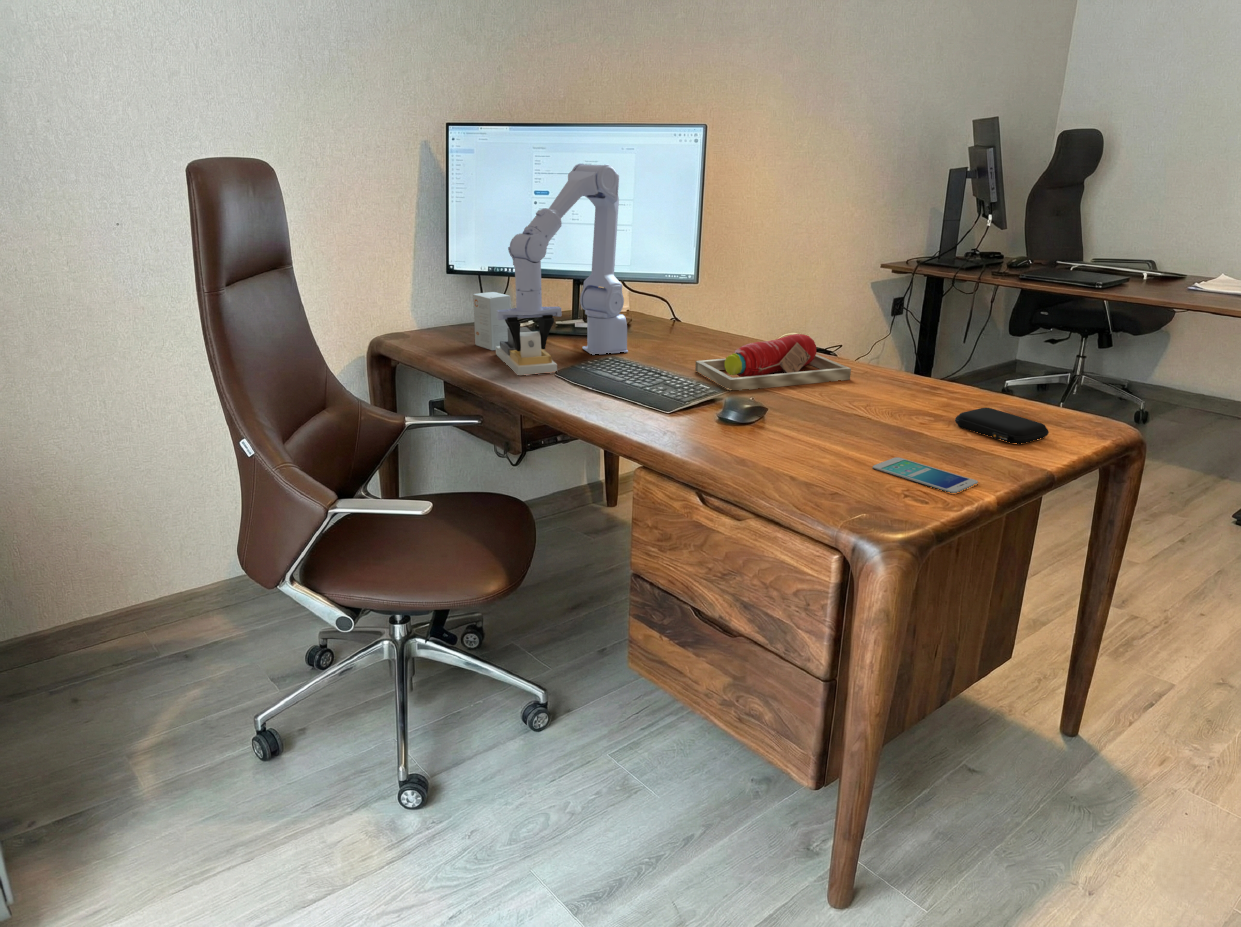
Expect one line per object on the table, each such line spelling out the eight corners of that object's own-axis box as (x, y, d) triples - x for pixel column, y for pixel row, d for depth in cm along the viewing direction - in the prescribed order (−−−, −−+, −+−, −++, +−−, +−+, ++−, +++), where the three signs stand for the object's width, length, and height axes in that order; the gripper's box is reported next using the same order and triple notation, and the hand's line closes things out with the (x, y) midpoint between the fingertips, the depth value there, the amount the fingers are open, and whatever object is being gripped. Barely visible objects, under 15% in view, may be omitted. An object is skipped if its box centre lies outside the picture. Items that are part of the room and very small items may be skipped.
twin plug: (526, 347, 220) (525, 326, 218) (533, 353, 214) (532, 332, 212) (508, 348, 218) (507, 328, 217) (514, 354, 213) (514, 333, 211)
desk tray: (808, 361, 216) (809, 351, 215) (850, 379, 201) (851, 368, 200) (695, 371, 206) (695, 361, 206) (729, 391, 191) (730, 379, 190)
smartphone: (897, 456, 152) (980, 481, 142) (896, 461, 153) (979, 486, 142) (870, 466, 148) (954, 492, 137) (870, 471, 148) (953, 497, 137)
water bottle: (836, 343, 204) (757, 360, 190) (828, 376, 208) (751, 395, 194) (796, 325, 212) (718, 340, 198) (790, 357, 216) (713, 374, 202)
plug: (539, 352, 210) (539, 331, 209) (542, 359, 204) (541, 337, 203) (520, 353, 210) (519, 332, 208) (521, 360, 204) (520, 338, 202)
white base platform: (532, 351, 224) (531, 337, 223) (557, 372, 205) (556, 357, 204) (496, 354, 221) (495, 340, 220) (518, 376, 202) (517, 360, 201)
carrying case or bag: (945, 428, 169) (1013, 450, 158) (947, 412, 168) (1016, 434, 157) (983, 419, 175) (1052, 440, 163) (985, 403, 174) (1054, 424, 162)
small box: (513, 347, 229) (511, 295, 224) (491, 350, 225) (489, 298, 221) (496, 341, 235) (493, 291, 230) (474, 345, 231) (472, 293, 226)
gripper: (554, 284, 208) (556, 343, 213) (492, 288, 204) (495, 347, 208) (563, 289, 202) (564, 349, 207) (499, 293, 198) (502, 354, 202)
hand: (530, 349), depth 207 cm, fingers closed on plug, 5 cm apart
